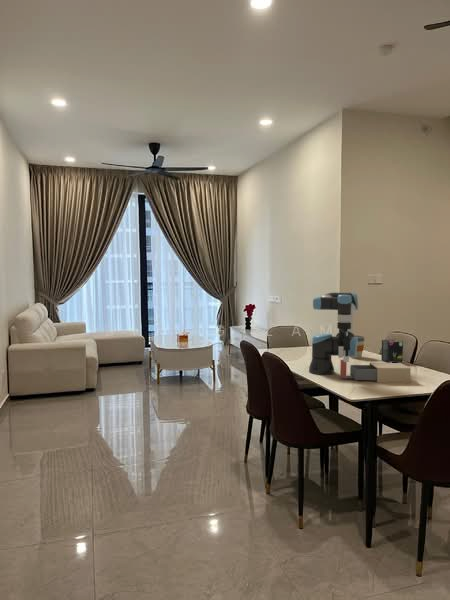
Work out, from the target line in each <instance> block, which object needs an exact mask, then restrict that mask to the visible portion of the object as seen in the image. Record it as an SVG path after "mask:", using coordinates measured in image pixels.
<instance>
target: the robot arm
mask: <svg viewBox="0 0 450 600" xmlns="http://www.w3.org/2000/svg"><path fill="white" fill-rule="evenodd" d="M358 299H359V298H358V295H357V293H355V292H329V293H325V294H322V295H320V296H315V297H313V299H312V308H313V309H314V310H318V311H319V310H320V311H321V310H322V311H326V310H329V311H337V313H336V315H337V318H336V319H337V323H336V326H337V327H336V328H337V329H338V332H337V333H336V334H335V336H333V335H332V334H331V333H319V334H315V335H314V336H312V340H311V361H310V363H309V366H308V367H309V368H308V371H309V373H311V374H314V375H332V374H334V373H335V368H334V364H333V362H332V361H333V360H332V356H335V357H337V356H338V358H339V359H340V358H342V359H343V360H344V362H347V363H349V362H350V357H349V356H355V355H356V351H357V344H358V338H357V337H355V336H356V335H355V334H354V313H355V312H356V311H358V308H359V302H358V301H359V300H358Z"/></svg>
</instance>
